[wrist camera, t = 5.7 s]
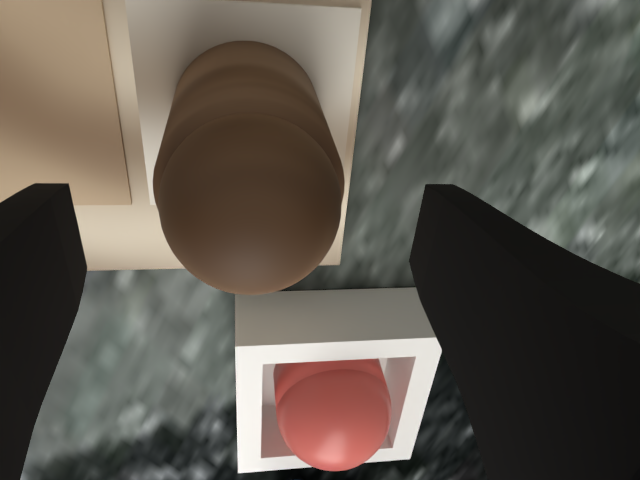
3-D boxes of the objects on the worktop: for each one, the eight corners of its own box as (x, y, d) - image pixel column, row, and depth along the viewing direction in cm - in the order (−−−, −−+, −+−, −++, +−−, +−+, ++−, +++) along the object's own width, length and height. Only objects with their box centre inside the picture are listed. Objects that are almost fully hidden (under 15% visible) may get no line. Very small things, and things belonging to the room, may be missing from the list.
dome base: (394, 406, 27) (410, 458, 25) (237, 416, 26) (237, 473, 23) (422, 287, 23) (445, 337, 20) (234, 292, 21) (235, 346, 19)
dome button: (370, 396, 26) (394, 490, 22) (271, 401, 25) (278, 500, 21) (384, 323, 23) (415, 416, 19) (273, 328, 22) (282, 425, 18)
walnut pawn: (313, 179, 18) (353, 336, 12) (178, 178, 17) (148, 344, 11) (323, 43, 15) (382, 154, 9) (166, 36, 14) (118, 151, 8)
